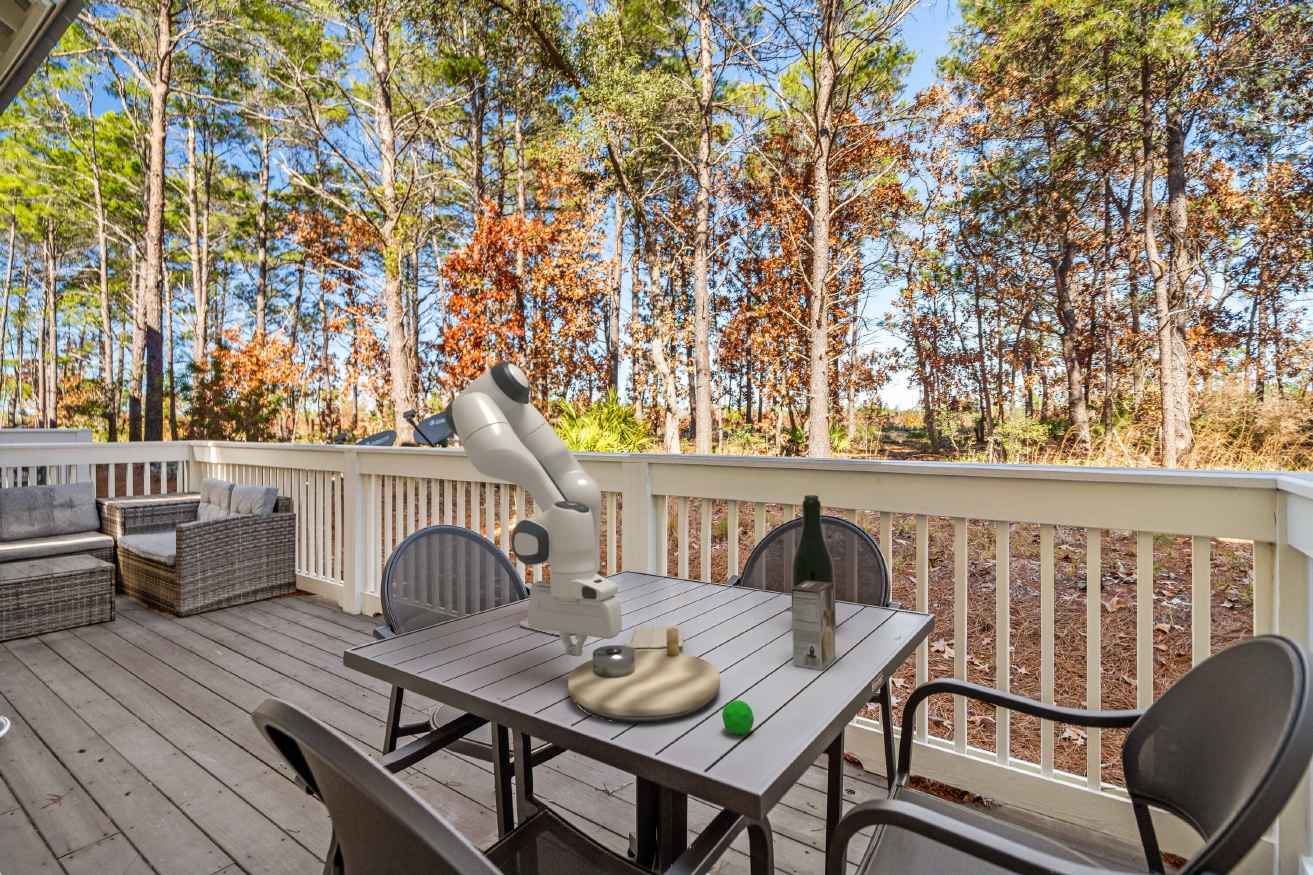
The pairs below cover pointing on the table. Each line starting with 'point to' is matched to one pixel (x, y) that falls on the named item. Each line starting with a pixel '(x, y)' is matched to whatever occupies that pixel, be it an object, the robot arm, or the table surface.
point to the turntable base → (647, 718)
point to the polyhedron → (738, 717)
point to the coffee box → (813, 624)
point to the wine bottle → (812, 549)
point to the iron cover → (613, 661)
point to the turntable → (648, 684)
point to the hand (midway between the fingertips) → (573, 654)
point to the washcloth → (654, 638)
